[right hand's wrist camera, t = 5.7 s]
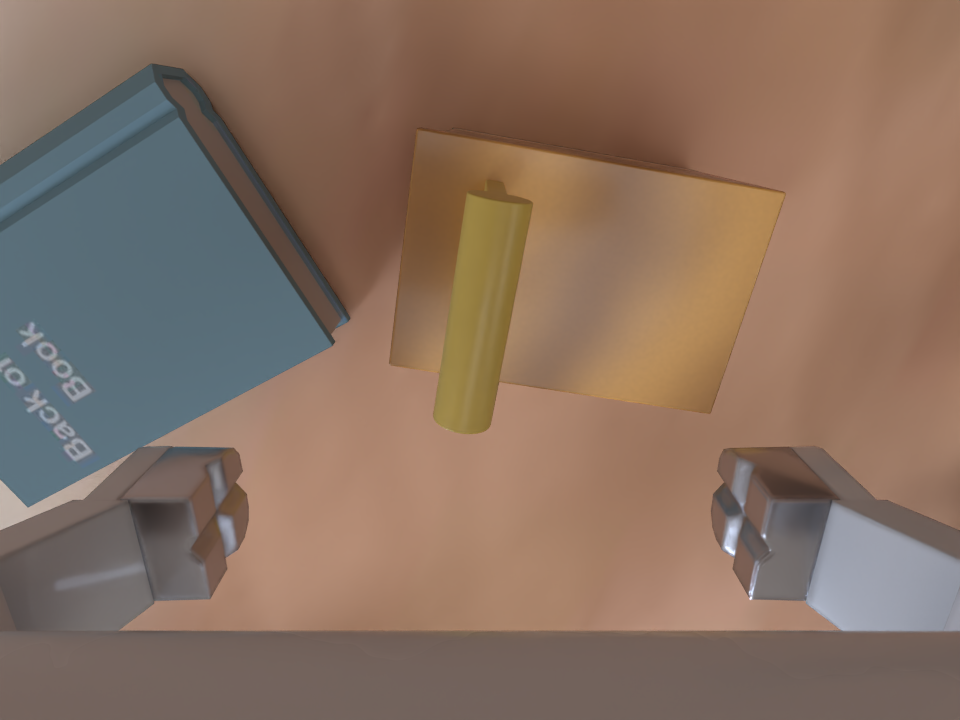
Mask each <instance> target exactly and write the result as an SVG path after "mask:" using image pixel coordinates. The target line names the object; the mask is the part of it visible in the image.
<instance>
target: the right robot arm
mask: <svg viewBox="0 0 960 720" xmlns="http://www.w3.org/2000/svg"><path fill="white" fill-rule="evenodd" d="M242 472H243V470H242V465H241V460H240V455H239V453H238V452H237V451H236V450H235V449H234V448H218V447H172V446H156V447H141V448H138V449H137V450H136V451H135V452H134V453H133V454H132V455H130V456H129V457H128V458H127V459H126V460H125V461H124V462H123V463H122V464H121V465H120V466H119V467H118V468H117V469H116V470H115V471H113V472H112V473H111V474H110V475H109V476H108V477H107V478H106V479H105V480H104V481H103V482H102V483H101V484H100V485H99V486H98V487H96V488H95V489H94V490H93V491H92V492H91V493H90V494H89V495H88V496H87V497H86V498H85V499H84V500H72V501H70V502H67V503H65V504H63V505H60V506H58V507H55V508H53V509H51V510H48V511H46V512H43V513H41V514H39V515H36V516H34V517H31V518H29V519H27V520H24V521H22V522H20V523H17V524H15V525H12V526H10V527H8V528H5V529H3V530H0V720H960V531H959V530H957V529H955V528H952V527H950V526H947V525H945V524H943V523H940V522H938V521H936V520H933V519H931V518H928V517H926V516H924V515H921V514H919V513H917V512H914V511H912V510H909V509H907V508H905V507H902V506H900V505H897V504H895V503H893V502H890V501H888V500H876V499H875V498H874V497H873V496H872V495H871V494H870V493H869V492H868V491H867V490H866V489H865V488H864V487H863V486H862V485H860V484H859V483H858V482H857V481H856V480H855V479H854V478H853V477H852V476H851V475H850V474H849V473H848V472H847V471H846V470H845V469H844V468H842V467H841V466H840V465H839V464H838V463H837V462H836V461H835V460H834V459H833V458H832V457H831V456H830V455H829V454H828V453H827V452H825V451H824V450H823V449H822V448H819V447H816V446H801V447H759V448H729V449H724V450H723V452H722V454H721V456H720V459H719V464H718V469H717V472H718V473H719V475H720V476H721V478H722V479H723V481H724V483H723V484H722V485H721V486H720V488H719V489H718V490H717V491H716V492H715V493H714V494H713V500H712V507H711V517H712V527H713V531H714V534H715V537H716V540H717V542H718V544H719V545H720V547H721V549H722V550H723V551H725V552H726V553H728V554H729V555H731V556H732V557H734V558H735V559H734V564H733V570H734V572H735V574H736V576H737V577H738V579H739V581H740V583H741V584H742V586H743V588H744V589H745V591H746V593H747V595H748V596H749V598H750V599H761V600H798V601H806V604H807V605H809V606H810V607H811V608H813V609H814V610H815V611H817V612H818V613H819V614H821V615H822V616H823V617H825V618H826V619H827V620H828V621H830V622H831V623H832V624H834V625H835V626H836V627H838V628H839V629H840V630H842V631H119V630H120V629H121V628H123V627H124V626H125V625H126V624H128V623H129V622H130V621H132V620H133V619H134V618H136V617H137V616H138V615H140V614H141V613H142V612H144V611H145V610H146V609H148V608H149V607H150V606H151V605H153V604H154V601H162V600H198V599H210V598H211V597H212V595H213V593H214V591H215V590H216V588H217V586H218V584H219V583H220V581H221V579H222V577H223V576H224V574H225V572H226V570H227V564H226V559H225V558H226V557H228V556H229V555H231V554H232V553H234V552H235V551H237V550H238V549H239V547H240V545H241V543H242V542H243V540H244V538H245V534H246V530H247V525H248V521H249V505H248V499H247V494H246V493H245V492H244V491H243V490H242V489H241V488H240V486H239V485H238V484H237V483H236V481H237V479H238V478H239V476H240V475H241V473H242Z"/></svg>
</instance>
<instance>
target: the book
mask: <svg viewBox="0 0 960 720" xmlns="http://www.w3.org/2000/svg"><path fill="white" fill-rule="evenodd" d="M349 320H350V316H349V315H348V313H347V312H346V310H345V309H344V307H343V306H342V304H341V303H340V301H339V300H338V298H337V296H336V295H335V293H334V292H333V290H332V289H331V287H330V286H329V284H328V283H327V281H326V279H325V278H324V276H323V275H322V273H321V272H320V270H319V269H318V267H317V266H316V264H315V262H314V261H313V259H312V258H311V256H310V255H309V253H308V252H307V250H306V249H305V247H304V246H303V244H302V242H301V241H300V239H299V238H298V236H297V235H296V233H295V232H294V230H293V229H292V227H291V225H290V224H289V222H288V221H287V219H286V218H285V216H284V215H283V213H282V212H281V210H280V209H279V207H278V205H277V204H276V202H275V201H274V199H273V198H272V196H271V195H270V193H269V192H268V190H267V188H266V187H265V185H264V184H263V182H262V181H261V179H260V178H259V176H258V175H257V173H256V172H255V170H254V168H253V167H252V165H251V164H250V162H249V161H248V159H247V158H246V156H245V155H244V153H243V151H242V150H241V148H240V147H239V145H238V144H237V142H236V141H235V139H234V138H233V136H232V134H231V133H230V131H229V130H228V128H227V127H226V125H225V124H224V122H223V121H222V119H221V118H220V117H219V116H218V115H217V114H216V113H215V112H214V111H213V109H212V105H211V102H210V101H209V99H208V97H207V96H206V94H205V93H204V91H203V90H202V88H201V87H200V86H199V85H198V84H197V83H196V82H195V81H194V80H193V79H192V78H191V77H190V76H189V75H188V74H187V73H186V72H185V71H184V70H183V69H180V68H174V67H168V66H162V65H157V64H150V65H148V66H147V67H146V68H144V69H143V70H141V71H140V72H138V73H137V74H135V75H134V76H132V77H131V78H129V79H128V80H126V81H125V82H123V83H122V84H120V85H119V86H117V87H116V88H114V89H113V90H111V91H110V92H108V93H107V94H105V95H104V96H102V97H101V98H99V99H98V100H96V101H95V102H94V103H92V104H91V105H89V106H88V107H86V108H85V109H83V110H82V111H80V112H79V113H77V114H76V115H74V116H73V117H71V118H70V119H68V120H67V121H65V122H64V123H62V124H61V125H59V126H58V127H56V128H55V129H53V130H52V131H50V132H49V133H47V134H46V135H45V136H43V137H42V138H40V139H39V140H37V141H36V142H34V143H33V144H31V145H30V146H28V147H27V148H25V149H24V150H22V151H21V152H19V153H18V154H16V155H15V156H13V157H12V158H10V159H9V160H7V161H6V162H4V163H3V164H1V165H0V479H1V480H2V481H3V482H4V484H5V485H6V486H7V487H8V488H9V489H10V490H11V491H12V492H13V493H14V494H15V495H16V496H17V497H18V498H19V499H20V500H21V501H22V502H23V503H24V504H25V505H26V506H27V507H30V506H32V505H34V504H35V503H37V502H39V501H41V500H43V499H45V498H47V497H49V496H50V495H52V494H54V493H56V492H58V491H60V490H62V489H64V488H66V487H67V486H69V485H71V484H73V483H75V482H77V481H79V480H81V479H82V478H84V477H86V476H88V475H90V474H92V473H94V472H96V471H98V470H99V469H101V468H103V467H105V466H107V465H109V464H111V463H113V462H115V461H116V460H118V459H120V458H122V457H124V456H126V455H128V454H130V453H131V452H133V451H135V450H137V449H138V448H141V447H143V446H145V445H147V444H148V443H150V442H152V441H154V440H156V439H158V438H160V437H162V436H164V435H165V434H167V433H169V432H171V431H173V430H175V429H177V428H179V427H180V426H182V425H184V424H186V423H188V422H190V421H192V420H194V419H196V418H197V417H199V416H201V415H203V414H205V413H207V412H209V411H211V410H212V409H214V408H216V407H218V406H220V405H222V404H224V403H226V402H228V401H229V400H231V399H233V398H235V397H237V396H239V395H241V394H243V393H245V392H246V391H248V390H250V389H252V388H254V387H256V386H258V385H260V384H261V383H263V382H265V381H267V380H269V379H271V378H273V377H275V376H277V375H278V374H280V373H282V372H284V371H286V370H288V369H290V368H292V367H294V366H295V365H297V364H299V363H301V362H303V361H305V360H307V359H309V358H310V357H312V356H314V355H316V354H318V353H320V352H322V351H324V350H326V349H327V348H329V347H331V346H333V344H334V343H335V340H334V339H333V337H332V336H331V334H332V332H333V331H334V329H336V328H337V327H339V326H341V325H343V324H345V323H347V322H348V321H349Z"/></svg>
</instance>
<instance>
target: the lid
mask: <svg viewBox="0 0 960 720" xmlns="http://www.w3.org/2000/svg"><path fill="white" fill-rule="evenodd" d="M785 195H786V193H785V192H782V191H778V190H774V189H769V188H763V187H757V186H752V185H746V184H740V183H734V182H729V181H723V180H717V179H712V178H706V177H700V176H695V175H689V174H683V173H678V172H672V171H666V170H660V169H655V168H649V167H643V166H638V165H632V164H626V163H621V162H615V161H609V160H603V159H598V158H592V157H586V156H581V155H575V154H569V153H564V152H558V151H552V150H547V149H541V148H535V147H529V146H524V145H518V144H512V143H507V142H501V141H495V140H490V139H484V138H478V137H472V136H467V135H461V134H455V133H450V132H444V131H438V130H433V129H427V128H417V130H416V137H415V146H414V154H413V163H412V171H411V180H410V188H409V197H408V205H407V214H406V223H405V231H404V240H403V248H402V257H401V265H400V274H399V283H398V291H397V300H396V308H395V317H394V325H393V334H392V343H391V351H390V360H389V364H390V365H391V366H397V367H404V368H410V369H417V370H424V371H430V372H437V373H439V380H438V387H437V393H436V400H435V406H434V413H433V417H434V420H435V421H436V423H437V424H438V425H440V426H441V427H443V428H445V429H447V430H449V431H452V432H456V433H461V434H477V433H481V432H484V431H486V430H487V429H488V428H489V427H490V425H491V421H492V416H493V410H494V405H495V400H496V395H497V390H498V384H499V382H503V383H509V384H516V385H522V386H529V387H536V388H542V389H549V390H555V391H562V392H569V393H575V394H582V395H588V396H595V397H601V398H608V399H615V400H621V401H628V402H634V403H641V404H648V405H654V406H661V407H667V408H674V409H681V410H687V411H694V412H700V413H707V414H710V413H711V410H712V407H713V405H714V402H715V399H716V396H717V393H718V390H719V387H720V384H721V381H722V378H723V375H724V373H725V370H726V367H727V364H728V361H729V358H730V355H731V352H732V349H733V346H734V343H735V341H736V338H737V335H738V332H739V329H740V326H741V323H742V320H743V317H744V314H745V311H746V309H747V306H748V303H749V300H750V297H751V294H752V291H753V288H754V285H755V282H756V279H757V277H758V274H759V271H760V268H761V265H762V262H763V259H764V256H765V253H766V250H767V247H768V245H769V242H770V239H771V236H772V233H773V230H774V227H775V224H776V221H777V218H778V215H779V213H780V210H781V207H782V204H783V201H784V198H785Z"/></svg>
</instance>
